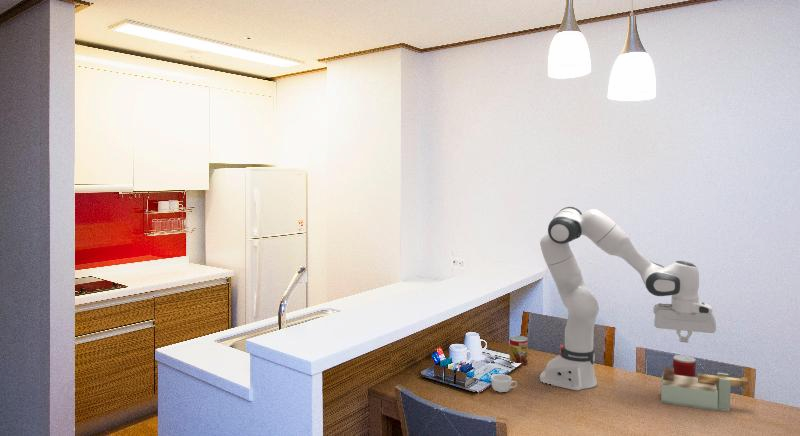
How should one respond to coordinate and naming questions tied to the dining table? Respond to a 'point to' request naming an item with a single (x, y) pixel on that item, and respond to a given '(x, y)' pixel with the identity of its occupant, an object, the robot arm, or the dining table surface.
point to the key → (715, 379)
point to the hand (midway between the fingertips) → (683, 341)
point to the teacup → (502, 382)
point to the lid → (685, 381)
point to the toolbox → (699, 396)
